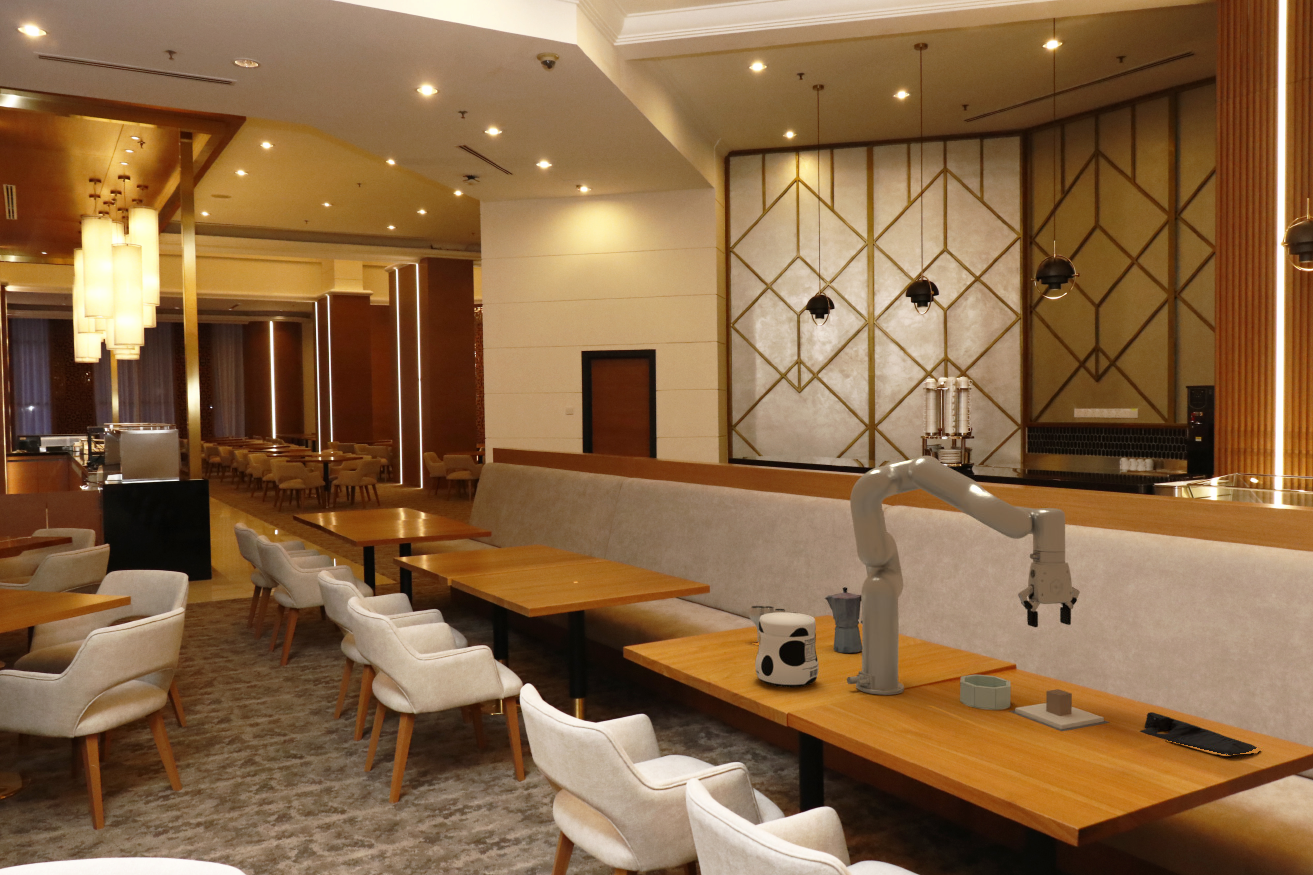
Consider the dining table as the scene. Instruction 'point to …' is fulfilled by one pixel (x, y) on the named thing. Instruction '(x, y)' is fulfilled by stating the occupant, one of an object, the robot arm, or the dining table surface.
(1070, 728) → the mat
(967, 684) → the bowl
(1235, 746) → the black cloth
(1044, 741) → the dining table surface
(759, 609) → the goblet set
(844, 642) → the moka pot
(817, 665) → the milk container
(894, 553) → the robot arm
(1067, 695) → the lid
